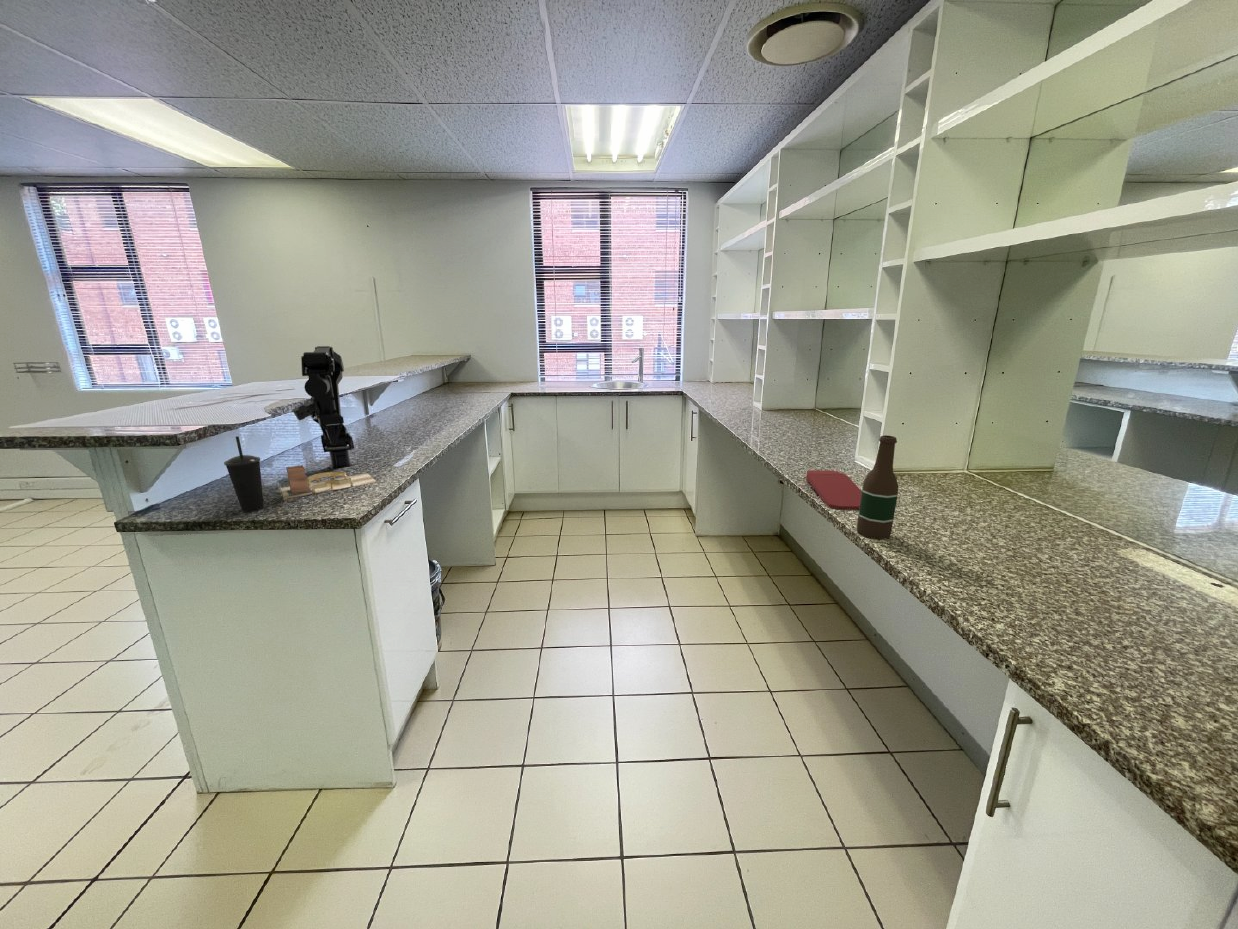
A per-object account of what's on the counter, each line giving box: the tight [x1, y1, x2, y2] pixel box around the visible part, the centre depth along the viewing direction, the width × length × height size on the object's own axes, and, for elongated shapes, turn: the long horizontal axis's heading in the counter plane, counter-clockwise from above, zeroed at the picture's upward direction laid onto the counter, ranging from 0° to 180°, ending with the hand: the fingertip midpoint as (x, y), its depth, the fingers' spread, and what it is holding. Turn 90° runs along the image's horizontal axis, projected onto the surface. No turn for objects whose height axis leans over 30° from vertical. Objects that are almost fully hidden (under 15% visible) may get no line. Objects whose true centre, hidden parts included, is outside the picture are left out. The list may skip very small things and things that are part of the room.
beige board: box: [279, 472, 378, 503], centre depth 147 cm, size 12×24×1 cm, turn 130°
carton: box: [805, 469, 862, 510], centre depth 143 cm, size 12×5×25 cm
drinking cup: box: [223, 436, 265, 513], centre depth 127 cm, size 8×8×20 cm
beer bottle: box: [856, 434, 899, 541], centre depth 113 cm, size 8×8×24 cm
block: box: [285, 464, 308, 494], centre depth 140 cm, size 4×4×7 cm
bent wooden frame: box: [306, 470, 354, 495], centre depth 146 cm, size 12×11×2 cm
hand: (330, 442), depth 153 cm, fingers open, 9 cm apart
